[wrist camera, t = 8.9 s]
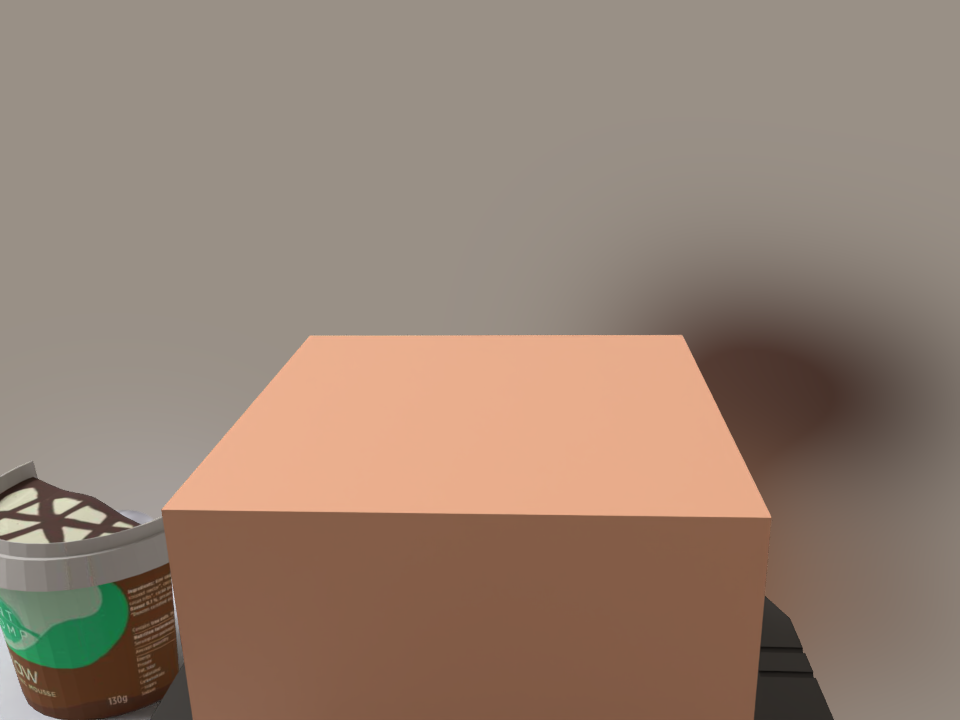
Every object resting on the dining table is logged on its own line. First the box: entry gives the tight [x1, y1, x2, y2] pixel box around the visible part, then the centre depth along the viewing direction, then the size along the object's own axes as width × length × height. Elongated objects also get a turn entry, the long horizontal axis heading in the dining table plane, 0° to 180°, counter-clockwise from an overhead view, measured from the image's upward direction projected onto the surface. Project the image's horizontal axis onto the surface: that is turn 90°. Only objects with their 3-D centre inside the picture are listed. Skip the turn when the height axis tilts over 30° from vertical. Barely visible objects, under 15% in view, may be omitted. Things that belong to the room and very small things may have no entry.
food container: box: [0, 461, 179, 720], centre depth 44 cm, size 12×6×10 cm, turn 55°
